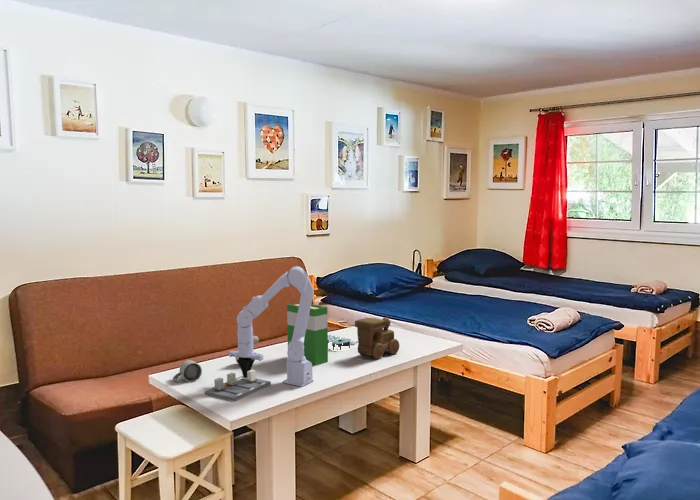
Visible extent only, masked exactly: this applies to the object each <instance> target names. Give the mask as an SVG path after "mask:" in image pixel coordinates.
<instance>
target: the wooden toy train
mask: <svg viewBox="0 0 700 500" xmlns="http://www.w3.org/2000/svg"><path fill="white" fill-rule="evenodd" d="M391 323H392V322H391V320H390V319H389V317H383V318H382V319H380V318H376V317H365V318H360V319H357V320H355V321H354V327H355V328H357V331H356V333H357V343H358V344H357V345H358V347H357V353H358V355H360V356H366V355H367V356H372V357H373V358H374V359H375V360H380V359H382V357H383V356H384V354H385V352H387V351H388V353H389V354H390V355H395V354H397V353H398V352H399V350H400V342H399V340H398V339H396V338H395V331H394V330H392V329H389V328H390V325H391ZM379 358H380V359H379Z"/></svg>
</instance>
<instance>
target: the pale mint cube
mask: <svg viewBox="0 0 700 500" xmlns="http://www.w3.org/2000/svg"><path fill="white" fill-rule="evenodd" d="M236 378H237V377H236V373H235V372H230V373H228V374H226V382H224V383H225V384H227V385H231V386H233V385H235V384H237V383H238V382H236Z"/></svg>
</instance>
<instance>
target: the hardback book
mask: <svg viewBox="0 0 700 500" xmlns="http://www.w3.org/2000/svg"><path fill="white" fill-rule="evenodd" d="M299 303H300V301H298V303H297V304H290V303H287V304H286V316H287V317H286V319H287V322H286V323H287V324H286V325H287V345H288V344H289V342H290V341H291V340H292V336H293V332H294V328H295V323H296V318H297V313H298V308H299ZM328 326H329V325H328V307H327V306H325V305H324V306H323V305H318V304H313V303H311V308H310V313H309V318H308V323H307V328H306V333H305V338H304V356H305V357H306V360H307V361H310V362H311V363H312V366H314V367H317V366H319V365H323V364H326V363H328V362H329V350H328V339H329V338H328V336H329V335H328V333H329V332H328V329H329V328H328ZM316 365H317V366H316Z"/></svg>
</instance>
